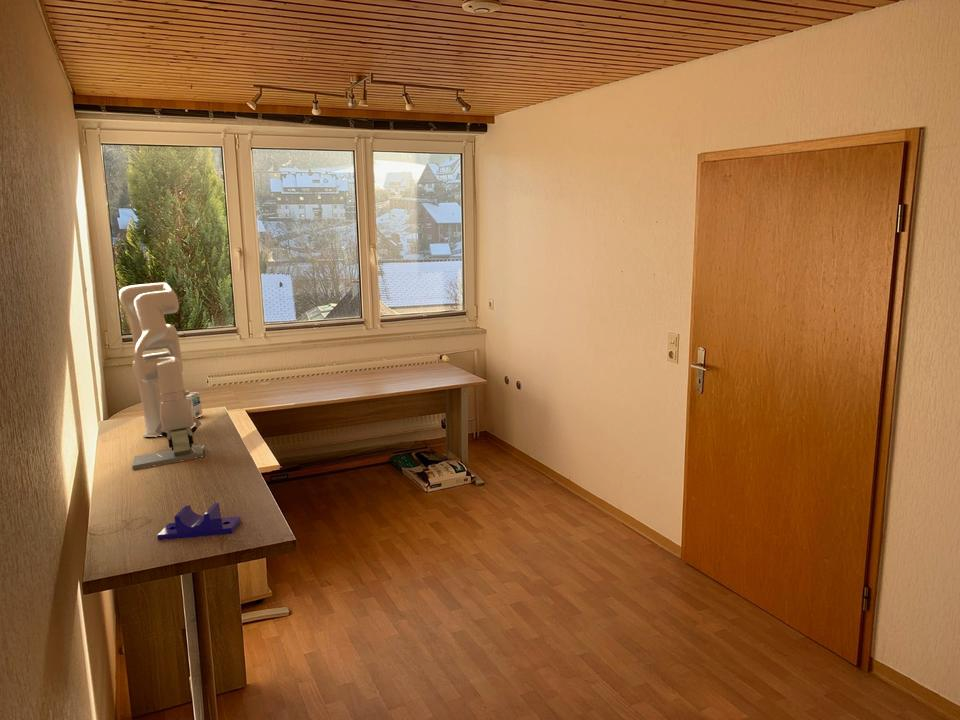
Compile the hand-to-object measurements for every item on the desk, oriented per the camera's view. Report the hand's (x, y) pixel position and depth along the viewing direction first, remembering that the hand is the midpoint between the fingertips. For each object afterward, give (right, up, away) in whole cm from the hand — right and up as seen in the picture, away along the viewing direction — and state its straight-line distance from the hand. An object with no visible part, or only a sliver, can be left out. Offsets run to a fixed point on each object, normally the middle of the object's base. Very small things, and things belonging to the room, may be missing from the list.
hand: (181, 447), depth 244 cm
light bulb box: (-21, +5, +57) cm, 61 cm away
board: (-4, -4, -1) cm, 6 cm away
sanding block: (0, -2, 0) cm, 2 cm away
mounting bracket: (+33, -13, -67) cm, 76 cm away
